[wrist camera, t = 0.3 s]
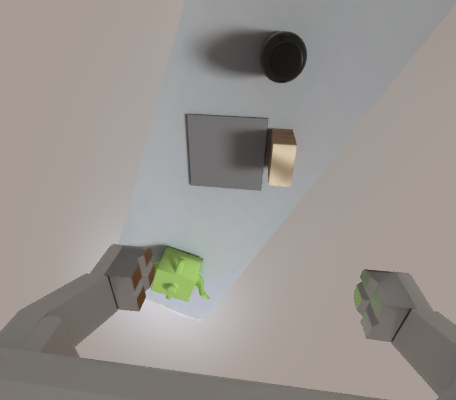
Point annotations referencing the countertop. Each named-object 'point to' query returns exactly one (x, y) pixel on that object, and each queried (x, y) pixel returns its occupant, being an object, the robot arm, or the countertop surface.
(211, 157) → the mat
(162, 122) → the countertop surface
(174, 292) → the teapot
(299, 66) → the supplement bottle
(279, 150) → the slab
